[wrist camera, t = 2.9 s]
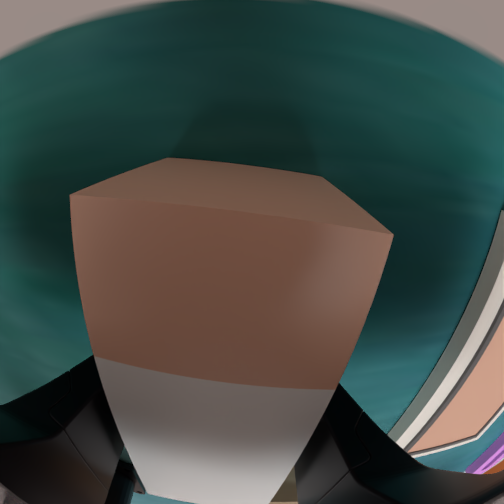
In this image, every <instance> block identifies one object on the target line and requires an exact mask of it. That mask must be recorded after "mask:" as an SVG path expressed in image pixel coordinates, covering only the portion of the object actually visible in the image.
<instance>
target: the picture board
mask: <svg viewBox="0 0 504 504" xmlns="http://www.w3.org/2000/svg"><path fill="white" fill-rule="evenodd" d="M503 411H504V210H501V214H500V218H499V221H498V225H497V228H496V232H495V235H494V238H493V241H492V244H491V247H490V250H489V253H488V256H487V259H486V262H485V264H484V267H483V270H482V272H481V275H480V277H479V280H478V282H477V285H476V287H475V290H474V292H473V294H472V297H471V299H470V301H469V303H468V306H467V308H466V310H465V312H464V314H463V316H462V318H461V320H460V322H459V324H458V326H457V328H456V330H455V332H454V334H453V336H452V338H451V340H450V342H449V343H448V345H447V347H446V349H445V351H444V352H443V354H442V356H441V358H440V359H439V361H438V363H437V364H436V366H435V368H434V369H433V371H432V373H431V374H430V376H429V377H428V379H427V381H426V382H425V384H424V385H423V387H422V388H421V390H420V391H419V393H418V394H417V396H416V397H415V399H414V400H413V401H412V403H411V404H410V406H409V407H408V408H407V410H406V411H405V412H404V414H403V415H402V417H401V418H400V419H399V420H398V422H397V423H396V424H395V426H394V427H393V428H392V429H391V431H390V432H389V433H388V434H387V435H388V436H389V437H390V438H391V439H392V440H393V441H394V442H396V443H397V444H398V445H399V446H400V447H401V448H403V449H404V450H405V451H406V452H407V453H408V454H410V455H411V456H412V457H413V458H415V457H420V456H424V455H428V454H432V453H436V452H439V451H443V450H446V449H450V448H453V447H456V446H459V445H463V444H466V443H469V442H471V441H474V440H477V439H478V438H479V437H480V436H481V435H482V434H483V433H484V432H485V431H486V430H487V429H488V428H489V427H490V426H491V424H492V423H493V422H494V421H495V420H496V419H497V418H498V416H499V415H500V414H501V413H502V412H503Z"/></svg>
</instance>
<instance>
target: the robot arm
mask: <svg viewBox="0 0 504 504" xmlns="http://www.w3.org/2000/svg"><path fill="white" fill-rule="evenodd" d="M123 447H124V442H123V440H122V438H121V435H120V433H119V430H118V428H117V425H116V423H115V420H114V417H113V415H112V412H111V409H110V406H109V403H108V401H107V398H106V395H105V392H104V389H103V385H102V382H101V379H100V376H99V372H98V369H97V365H96V362H95V358H94V355H92V356H90V357H89V358H87V359H86V360H84V361H83V362H81V363H79V364H78V365H76V366H75V367H73V368H72V369H70V372H69V371H67V372H65V373H64V374H62V375H61V376H59V377H57V378H56V379H54V380H52V381H51V382H49V383H47V384H45V385H43V386H41V387H39V388H38V389H36V390H34V391H32V392H29V393H27V394H25V395H23V396H21V397H19V398H17V399H15V400H13V401H11V402H9V403H6V404H3V405H0V504H130V503H131V499H132V496H133V492H136V493H139V494H145V491H146V490H145V488H144V486H143V484H142V482H141V480H140V478H139V476H138V474H137V472H136V470H135V468H134V467H133V466H131V465H129V464H126V463H122V462H119V458H120V455H121V452H122V450H123ZM294 470H295V479H296V489H297V498H298V504H504V470H502V471H500V472H498V473H494V474H471V473H462V472H453V471H446V470H439V469H433V468H430V467H427V466H425V465H423V464H421V463H419V462H418V461H417V460H415V459H414V458H413V457H412V456H411V455H410V454H408V453H407V452H406V451H405V450H404V449H403V448H401V447H400V446H399V445H398V444H397V443H396V442H394V441H393V440H392V439H391V438H390V437H389V436H388V435H387V434H386V433H385V432H383V431H382V430H381V429H380V428H379V427H378V426H377V425H376V424H375V422H374V421H373V420H372V419H371V418H370V417H369V416H368V415H367V414H366V413H365V412H363V409H362V408H361V407H360V406H359V405H358V404H357V403H356V402H355V400H354V399H353V398H352V397H351V396H350V395H349V394H348V393H347V391H346V390H345V389H344V388H343V387H342V386H341V385H340V383H338V385H337V387H336V390H335V392H334V394H333V396H332V398H331V400H330V402H329V404H328V406H327V408H326V410H325V412H324V413H323V415H322V417H321V419H320V421H319V423H318V425H317V427H316V428H315V430H314V432H313V434H312V436H311V437H310V439H309V441H308V443H307V445H306V446H305V448H304V450H303V451H302V453H301V455H300V456H299V458H298V460H297V461H296V463H295V465H294Z"/></svg>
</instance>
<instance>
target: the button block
mask: <svg viewBox="0 0 504 504" xmlns="http://www.w3.org/2000/svg"><path fill="white" fill-rule="evenodd" d="M269 504H298V498H297V489H296V479H295V470H294V466H293V468H292V469H291V471H290V473H289V474H288V476H287V477H286V479H285V480H284V482H283V484H282V485H281V487H280V488H279V490H278V491H277V493H276V494H275V495H274V497H273V498H272V500H271V501H270V503H269Z"/></svg>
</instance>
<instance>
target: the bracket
mask: <svg viewBox="0 0 504 504" xmlns="http://www.w3.org/2000/svg"><path fill="white" fill-rule="evenodd" d="M503 457H504V432H503V433H502V434H501V435H500V436H499V437H498V439H497V440H496V441H495V442H494V443H493V444H492V445H491V446H490V447H489V448H488V449H487V450H486V451H485V452H484V453H483V454H482V455H481V456H480V457H478V458H477V459H476V460H475V461H474V462H473V463H472V464H471V465H470V466H469V467H468V468H467V469H466V473H471V474H482V473H483V472H485V471H487V470H488V469H490V468H491V467H492V466H494V465H495V464H496V463H497V462H499V461H500V460H501V459H502V458H503Z"/></svg>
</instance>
